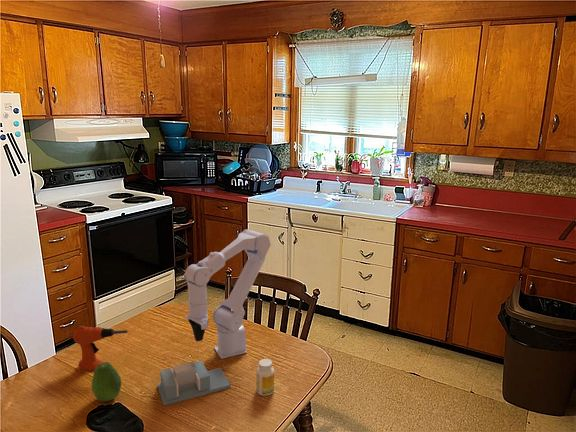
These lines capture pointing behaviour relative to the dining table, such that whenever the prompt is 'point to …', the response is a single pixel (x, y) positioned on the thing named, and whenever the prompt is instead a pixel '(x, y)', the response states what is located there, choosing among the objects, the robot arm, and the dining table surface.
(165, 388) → the base
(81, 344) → the toy drill
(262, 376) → the supplement bottle
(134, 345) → the dining table surface
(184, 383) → the steel block
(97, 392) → the avocado
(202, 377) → the block
